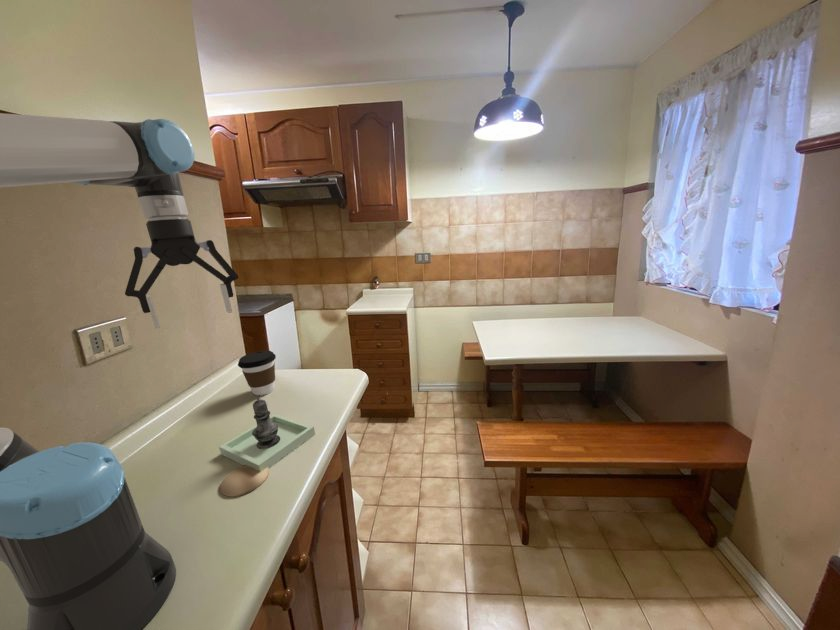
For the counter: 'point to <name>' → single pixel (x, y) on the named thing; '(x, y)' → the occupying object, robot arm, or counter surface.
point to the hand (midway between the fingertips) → (195, 319)
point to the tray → (259, 459)
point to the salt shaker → (264, 426)
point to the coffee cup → (259, 371)
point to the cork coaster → (243, 481)
